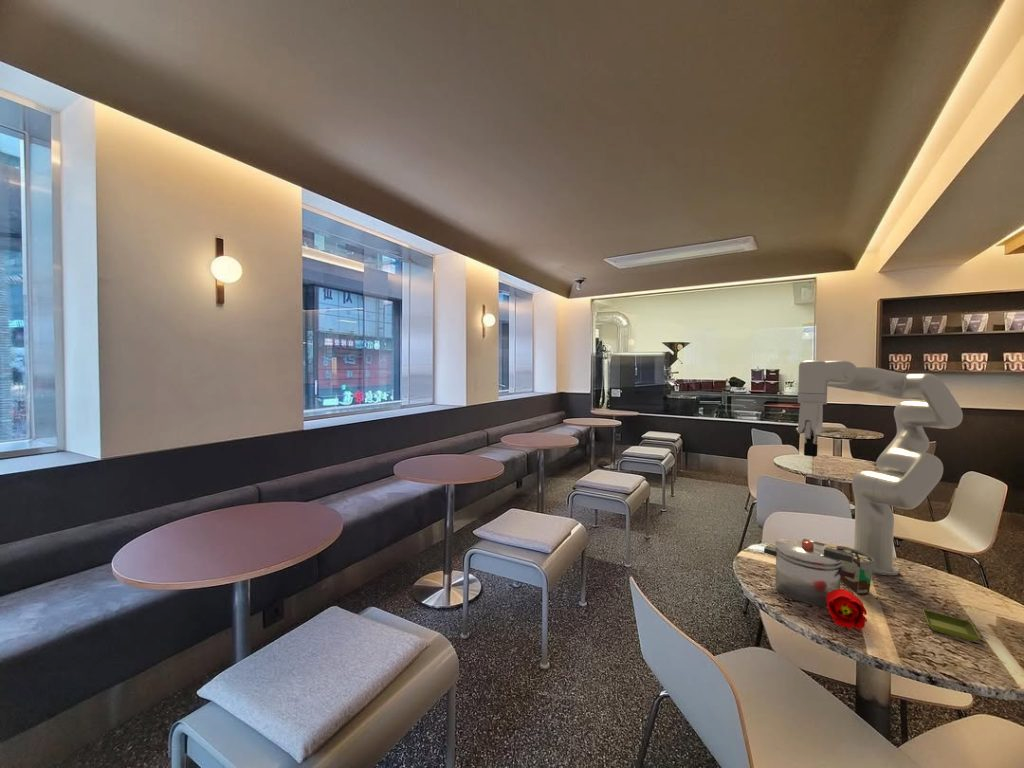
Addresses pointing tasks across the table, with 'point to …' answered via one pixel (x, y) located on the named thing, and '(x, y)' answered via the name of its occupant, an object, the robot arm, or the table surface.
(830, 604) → the flower
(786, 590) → the cooker pot
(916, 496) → the robot arm
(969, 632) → the green shallow tray
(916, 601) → the table surface
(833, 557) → the cooker lid
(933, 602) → the table surface
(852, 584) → the food container
